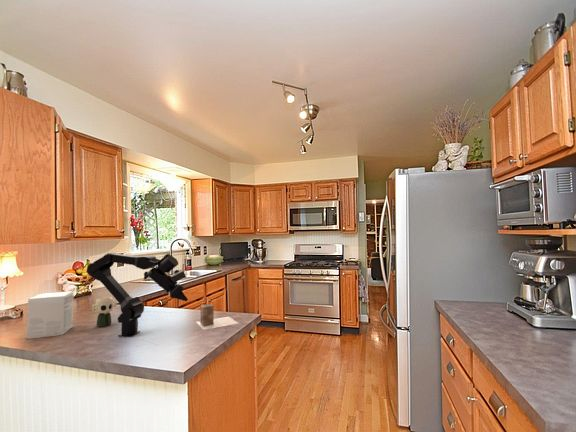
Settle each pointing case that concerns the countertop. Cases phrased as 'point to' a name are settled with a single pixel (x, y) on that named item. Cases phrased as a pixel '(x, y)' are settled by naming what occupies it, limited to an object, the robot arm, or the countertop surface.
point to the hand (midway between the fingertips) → (186, 299)
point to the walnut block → (207, 315)
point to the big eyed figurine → (104, 310)
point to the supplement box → (49, 314)
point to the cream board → (219, 323)
